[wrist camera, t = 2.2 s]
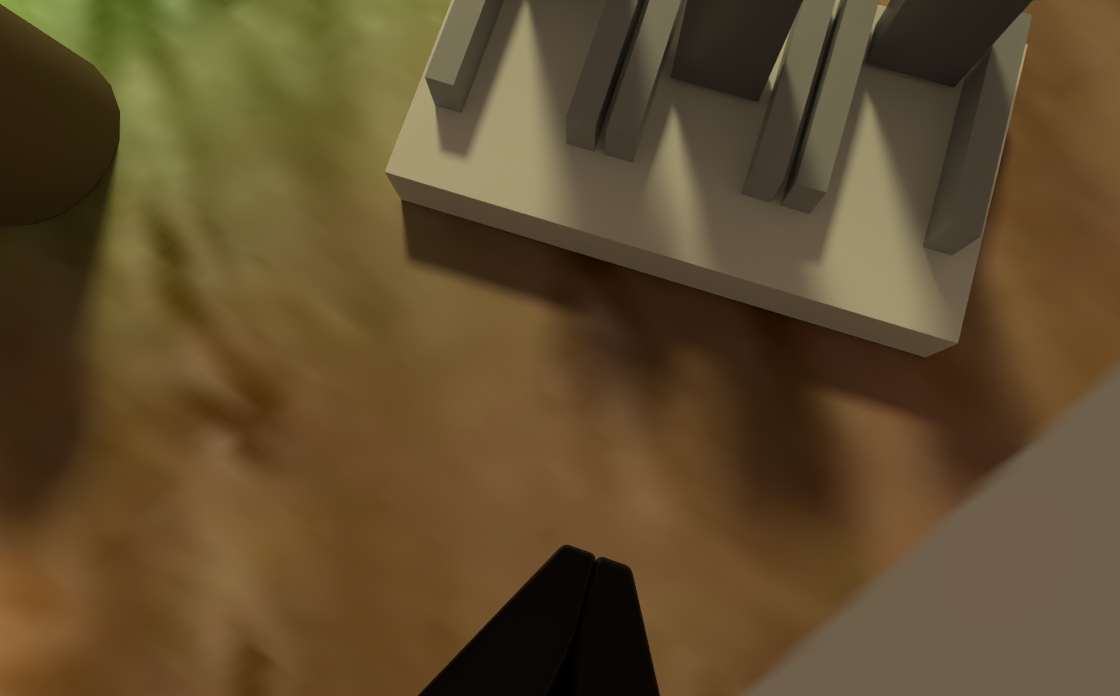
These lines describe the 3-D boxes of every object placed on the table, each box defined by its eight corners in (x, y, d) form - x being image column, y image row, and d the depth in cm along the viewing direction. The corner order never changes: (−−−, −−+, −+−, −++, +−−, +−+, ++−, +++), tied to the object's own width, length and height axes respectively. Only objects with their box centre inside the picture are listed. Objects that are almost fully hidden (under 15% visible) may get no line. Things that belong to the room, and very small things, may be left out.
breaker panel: (924, 357, 23) (986, 330, 19) (400, 199, 24) (371, 147, 20) (991, 82, 24) (1059, 11, 21) (497, -53, 26) (484, -139, 22)
